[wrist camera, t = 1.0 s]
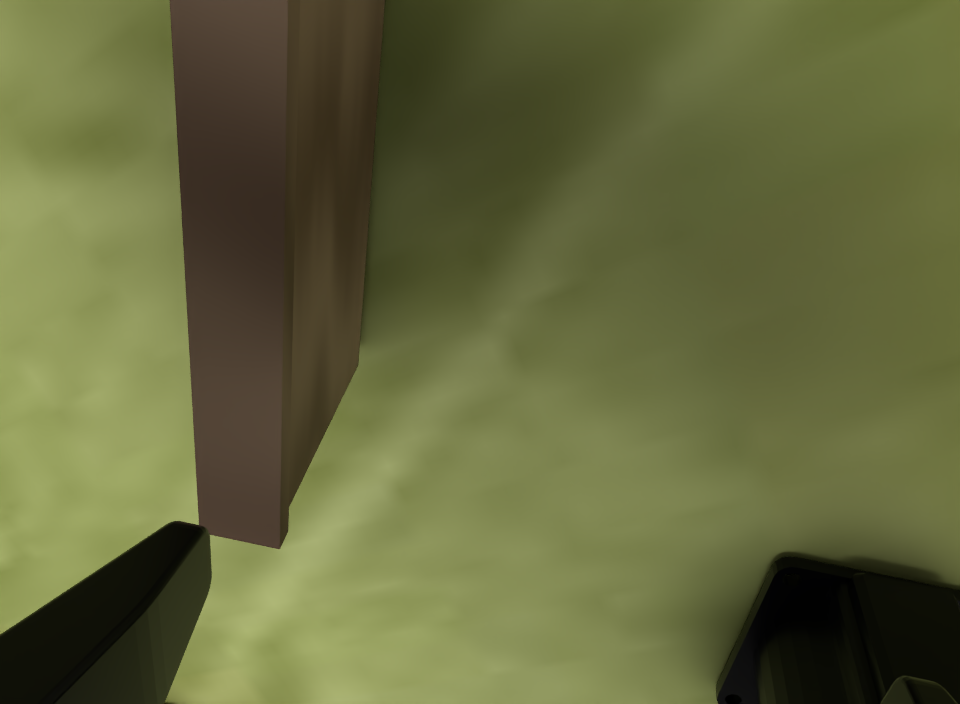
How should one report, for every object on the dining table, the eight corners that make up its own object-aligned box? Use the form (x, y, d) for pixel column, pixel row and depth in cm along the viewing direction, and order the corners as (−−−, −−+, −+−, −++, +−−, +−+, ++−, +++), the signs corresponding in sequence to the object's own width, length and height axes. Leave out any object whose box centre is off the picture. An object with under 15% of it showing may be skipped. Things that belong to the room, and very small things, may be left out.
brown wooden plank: (365, 366, 22) (279, 549, 17) (289, 351, 22) (179, 527, 17) (418, -289, 15) (293, -345, 9) (303, -308, 15) (113, -374, 9)
